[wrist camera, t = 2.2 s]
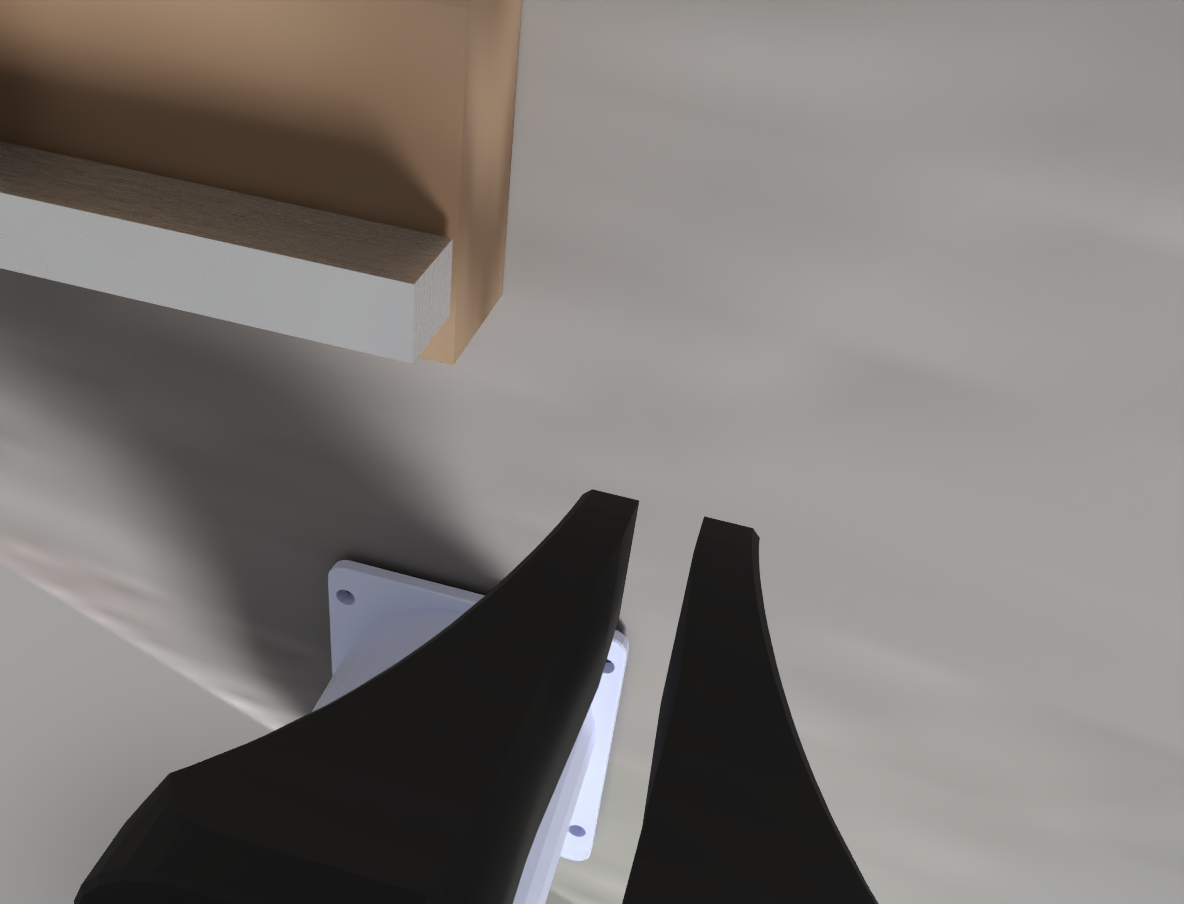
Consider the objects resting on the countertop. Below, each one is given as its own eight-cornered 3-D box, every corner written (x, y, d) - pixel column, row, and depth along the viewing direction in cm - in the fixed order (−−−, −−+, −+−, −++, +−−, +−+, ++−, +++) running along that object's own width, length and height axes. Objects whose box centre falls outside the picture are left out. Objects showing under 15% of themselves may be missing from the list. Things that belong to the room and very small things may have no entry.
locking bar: (449, 314, 20) (412, 364, 19) (-89, 193, 21) (-162, 230, 20) (461, 6, 17) (417, 37, 15) (-173, -111, 18) (-266, -93, 17)
